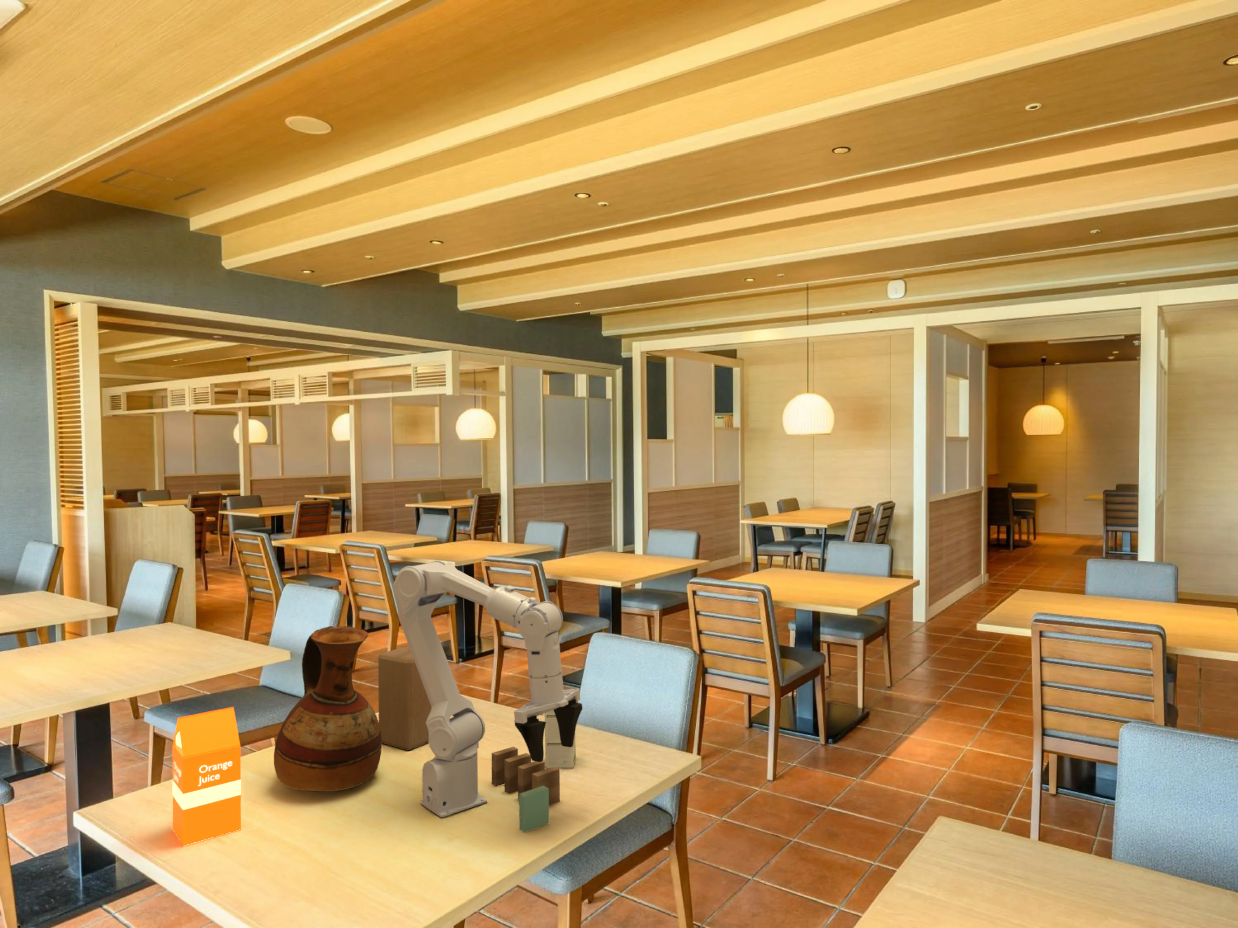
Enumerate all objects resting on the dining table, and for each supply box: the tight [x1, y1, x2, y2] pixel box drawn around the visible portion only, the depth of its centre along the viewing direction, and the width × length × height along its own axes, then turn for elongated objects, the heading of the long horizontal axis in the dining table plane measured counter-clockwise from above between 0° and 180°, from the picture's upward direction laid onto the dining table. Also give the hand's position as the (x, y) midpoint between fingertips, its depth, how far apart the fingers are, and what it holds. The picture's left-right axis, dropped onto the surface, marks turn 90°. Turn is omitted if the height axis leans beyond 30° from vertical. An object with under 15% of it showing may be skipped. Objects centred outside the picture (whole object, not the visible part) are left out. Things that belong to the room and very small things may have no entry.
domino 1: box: [491, 746, 519, 787], centre depth 151 cm, size 5×2×6 cm, turn 131°
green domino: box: [518, 786, 550, 833], centre depth 132 cm, size 5×2×6 cm, turn 132°
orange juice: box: [171, 706, 242, 847], centre depth 131 cm, size 8×9×20 cm
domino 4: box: [532, 767, 561, 807], centre depth 141 cm, size 5×2×6 cm, turn 132°
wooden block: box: [377, 645, 432, 751], centre depth 173 cm, size 10×10×20 cm
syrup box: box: [544, 688, 577, 770], centre depth 160 cm, size 6×6×14 cm
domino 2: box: [504, 752, 532, 795], centre depth 147 cm, size 5×2×6 cm, turn 131°
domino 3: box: [517, 760, 546, 800], centre depth 144 cm, size 5×2×6 cm, turn 132°
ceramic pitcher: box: [273, 625, 383, 792], centre depth 151 cm, size 20×20×30 cm
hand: (552, 753), depth 134 cm, fingers open, 7 cm apart
